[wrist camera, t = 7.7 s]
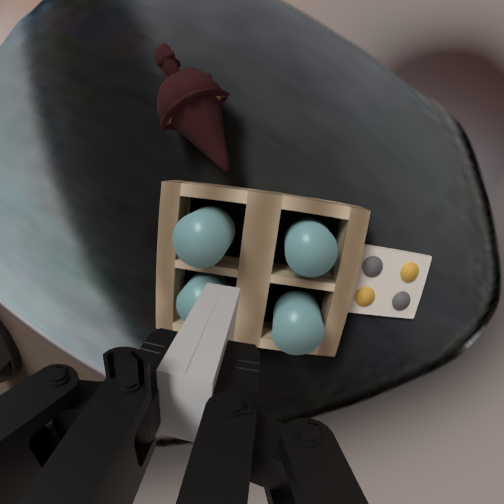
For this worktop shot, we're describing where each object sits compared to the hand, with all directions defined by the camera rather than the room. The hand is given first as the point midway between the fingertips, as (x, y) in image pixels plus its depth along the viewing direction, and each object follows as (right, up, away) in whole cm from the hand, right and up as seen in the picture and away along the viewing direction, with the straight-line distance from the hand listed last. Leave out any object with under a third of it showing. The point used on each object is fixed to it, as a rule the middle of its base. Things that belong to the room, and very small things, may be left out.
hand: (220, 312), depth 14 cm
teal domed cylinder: (+6, -3, +18) cm, 19 cm away
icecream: (-4, +18, +16) cm, 24 cm away
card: (+17, -1, +19) cm, 25 cm away
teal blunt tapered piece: (+7, +4, +18) cm, 20 cm away
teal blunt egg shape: (-3, +5, +16) cm, 17 cm away
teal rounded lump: (-3, -1, +20) cm, 20 cm away
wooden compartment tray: (+2, +1, +20) cm, 20 cm away
